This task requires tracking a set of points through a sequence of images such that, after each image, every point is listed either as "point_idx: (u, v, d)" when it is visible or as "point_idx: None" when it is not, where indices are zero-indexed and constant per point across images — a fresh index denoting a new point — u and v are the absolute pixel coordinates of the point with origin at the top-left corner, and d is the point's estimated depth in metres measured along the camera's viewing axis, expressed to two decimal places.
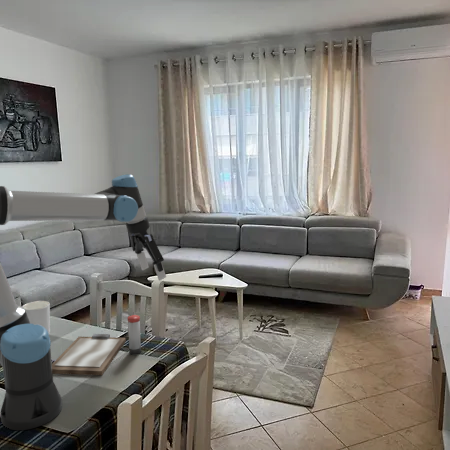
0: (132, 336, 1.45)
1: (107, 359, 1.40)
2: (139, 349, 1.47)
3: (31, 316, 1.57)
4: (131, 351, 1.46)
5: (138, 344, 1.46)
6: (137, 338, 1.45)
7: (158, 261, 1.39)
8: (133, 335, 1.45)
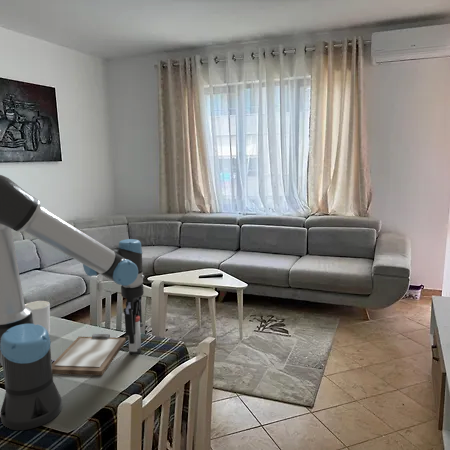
0: None
1: (107, 359, 1.40)
2: (139, 349, 1.47)
3: None
4: None
5: (138, 344, 1.46)
6: (137, 338, 1.45)
7: (127, 333, 1.41)
8: None
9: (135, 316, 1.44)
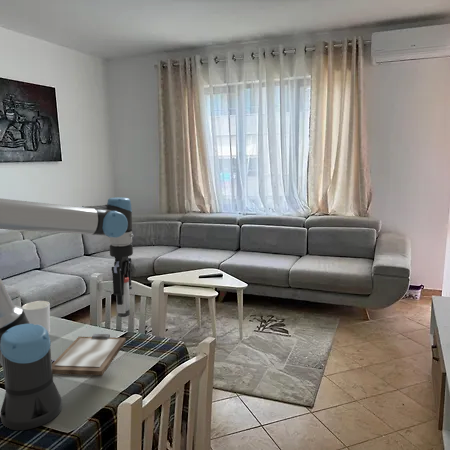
0: None
1: (107, 359, 1.40)
2: (128, 311, 1.43)
3: (31, 316, 1.57)
4: (119, 313, 1.42)
5: (127, 306, 1.42)
6: (126, 300, 1.42)
7: (114, 293, 1.37)
8: None
9: (124, 276, 1.40)
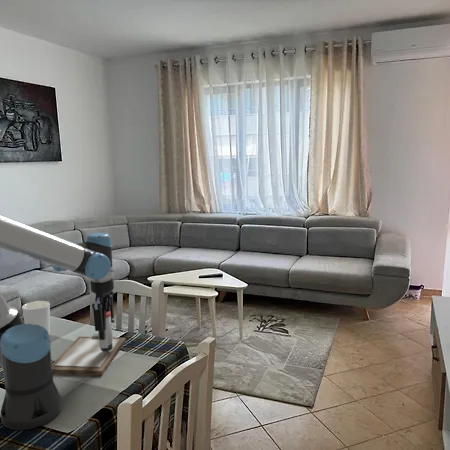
0: None
1: (107, 359, 1.40)
2: (110, 345, 1.43)
3: (31, 316, 1.57)
4: None
5: (109, 340, 1.42)
6: (108, 334, 1.42)
7: (96, 329, 1.37)
8: None
9: (105, 312, 1.40)
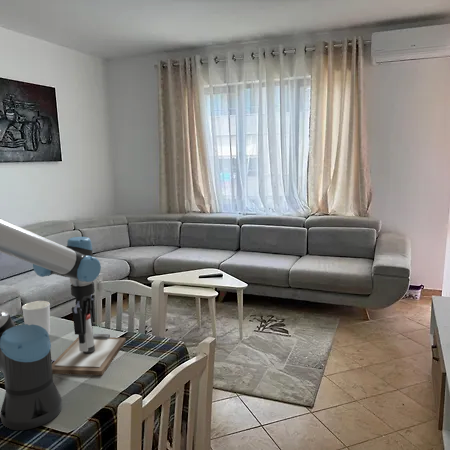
0: None
1: (107, 359, 1.40)
2: (92, 347, 1.43)
3: (31, 316, 1.57)
4: None
5: (90, 342, 1.43)
6: (89, 336, 1.42)
7: (76, 333, 1.38)
8: None
9: (85, 315, 1.41)
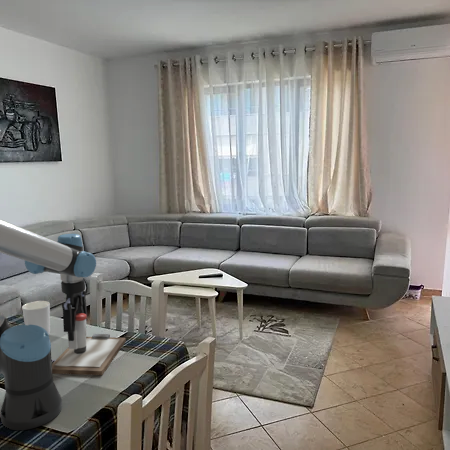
0: (77, 334, 1.42)
1: (107, 359, 1.40)
2: (84, 348, 1.44)
3: (31, 316, 1.57)
4: (75, 350, 1.43)
5: (83, 343, 1.43)
6: (82, 337, 1.42)
7: (65, 330, 1.37)
8: (78, 333, 1.42)
9: (75, 312, 1.40)
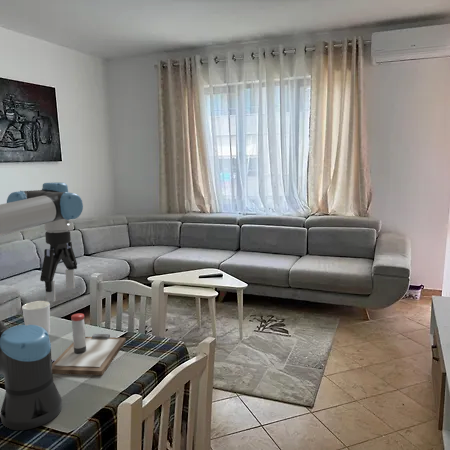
0: (75, 334, 1.42)
1: (107, 359, 1.40)
2: (84, 348, 1.44)
3: (31, 316, 1.57)
4: (75, 350, 1.43)
5: (82, 343, 1.43)
6: (81, 337, 1.43)
7: (41, 279, 1.27)
8: (77, 334, 1.42)
9: (57, 264, 1.32)
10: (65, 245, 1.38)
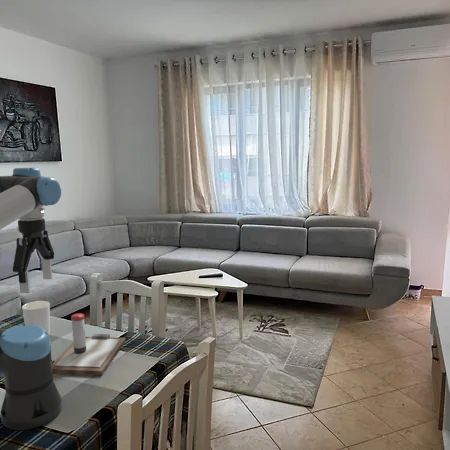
0: (75, 334, 1.42)
1: (107, 359, 1.40)
2: (84, 348, 1.44)
3: (31, 316, 1.57)
4: (75, 350, 1.43)
5: (82, 343, 1.43)
6: (81, 337, 1.43)
7: (14, 269, 1.20)
8: (77, 334, 1.42)
9: None
10: (40, 234, 1.31)
